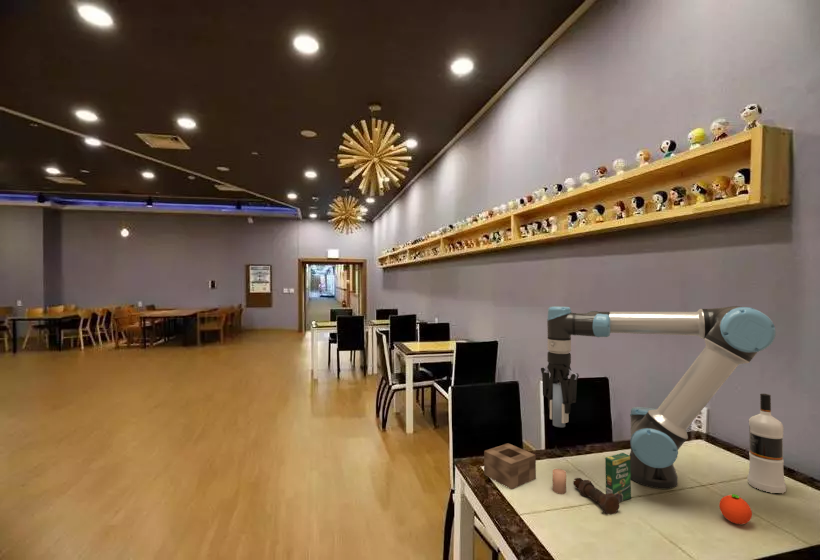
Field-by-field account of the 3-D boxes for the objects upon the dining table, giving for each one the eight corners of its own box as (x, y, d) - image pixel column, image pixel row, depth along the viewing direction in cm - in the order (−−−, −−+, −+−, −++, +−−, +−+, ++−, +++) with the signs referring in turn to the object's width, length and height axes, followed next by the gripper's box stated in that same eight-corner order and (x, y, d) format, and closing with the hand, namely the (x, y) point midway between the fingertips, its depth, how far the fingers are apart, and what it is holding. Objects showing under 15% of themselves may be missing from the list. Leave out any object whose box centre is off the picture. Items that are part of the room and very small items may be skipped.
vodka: (781, 498, 120) (779, 399, 121) (742, 485, 128) (741, 392, 129) (790, 490, 125) (789, 395, 126) (753, 478, 133) (752, 388, 134)
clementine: (719, 510, 114) (719, 485, 114) (751, 519, 109) (751, 493, 109) (718, 523, 108) (718, 496, 108) (752, 533, 103) (752, 505, 103)
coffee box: (612, 505, 116) (612, 460, 116) (604, 500, 119) (604, 456, 119) (631, 499, 119) (631, 455, 120) (623, 494, 122) (623, 452, 122)
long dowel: (567, 425, 134) (567, 384, 134) (560, 428, 132) (560, 386, 132) (557, 422, 137) (557, 382, 138) (550, 424, 135) (550, 383, 135)
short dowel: (568, 491, 124) (568, 472, 124) (561, 495, 122) (561, 475, 122) (557, 486, 127) (557, 467, 127) (550, 489, 125) (549, 470, 125)
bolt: (579, 493, 126) (614, 518, 112) (567, 487, 125) (601, 511, 111) (586, 476, 127) (622, 499, 113) (574, 470, 126) (609, 492, 112)
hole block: (535, 479, 132) (535, 455, 132) (511, 489, 125) (511, 463, 125) (508, 465, 142) (508, 443, 142) (484, 474, 135) (484, 450, 135)
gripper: (531, 349, 140) (531, 415, 140) (575, 356, 126) (575, 430, 126) (545, 347, 144) (545, 411, 144) (588, 354, 130) (588, 425, 130)
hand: (559, 420), depth 135 cm, fingers closed on long dowel, 4 cm apart
